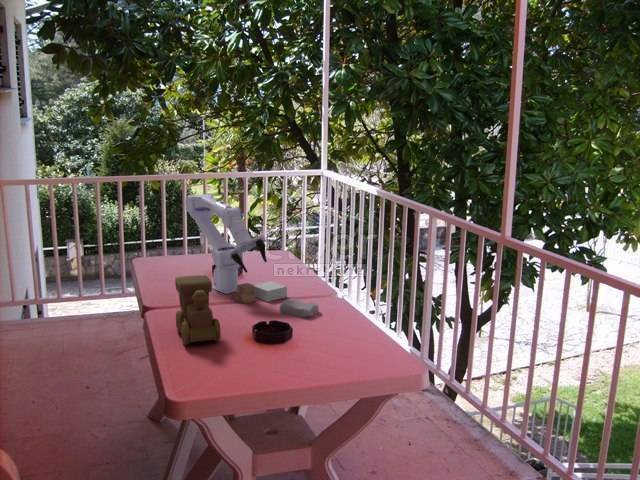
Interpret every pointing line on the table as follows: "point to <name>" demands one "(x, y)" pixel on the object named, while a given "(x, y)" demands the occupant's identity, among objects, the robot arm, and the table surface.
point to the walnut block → (245, 293)
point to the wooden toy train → (195, 310)
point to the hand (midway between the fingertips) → (255, 266)
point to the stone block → (298, 308)
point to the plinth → (270, 291)
